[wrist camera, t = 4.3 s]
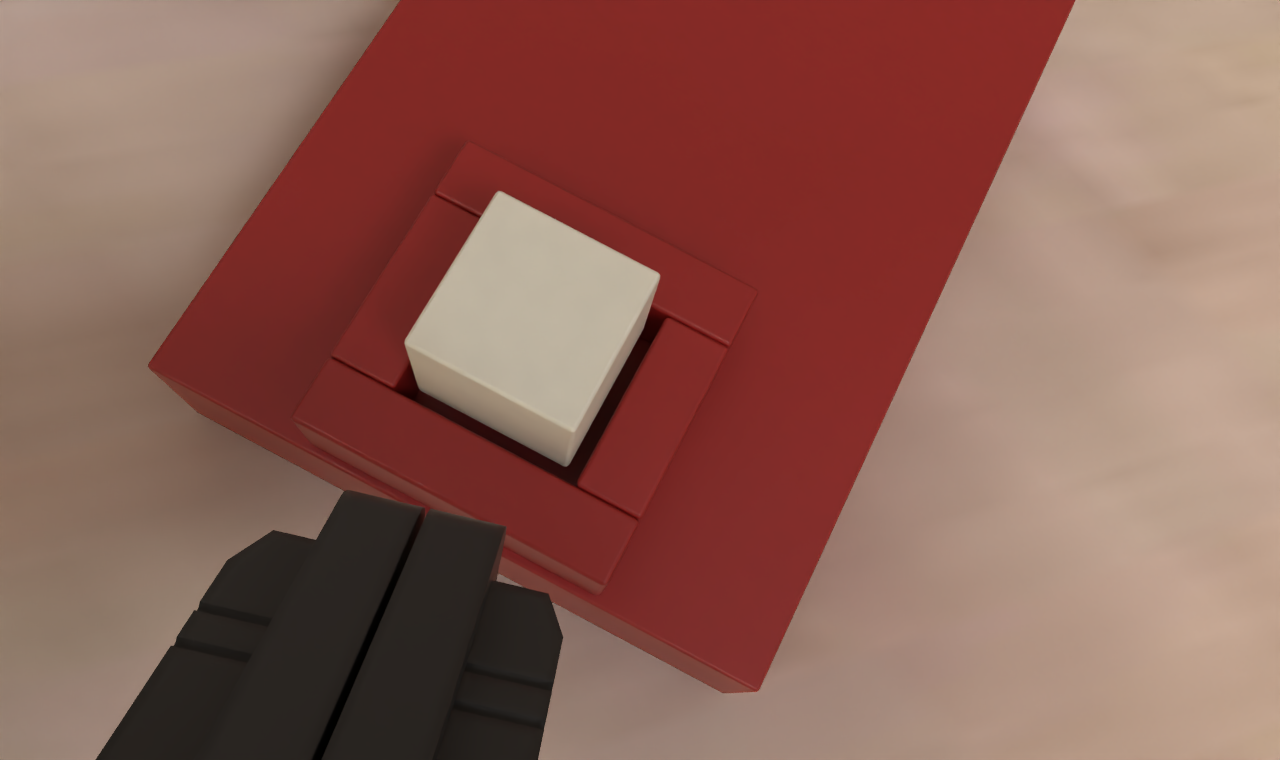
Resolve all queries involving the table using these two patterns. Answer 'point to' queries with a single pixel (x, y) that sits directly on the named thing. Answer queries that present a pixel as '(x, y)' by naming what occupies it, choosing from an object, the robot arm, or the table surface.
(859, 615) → the table surface
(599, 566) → the red push button box
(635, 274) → the white cube
